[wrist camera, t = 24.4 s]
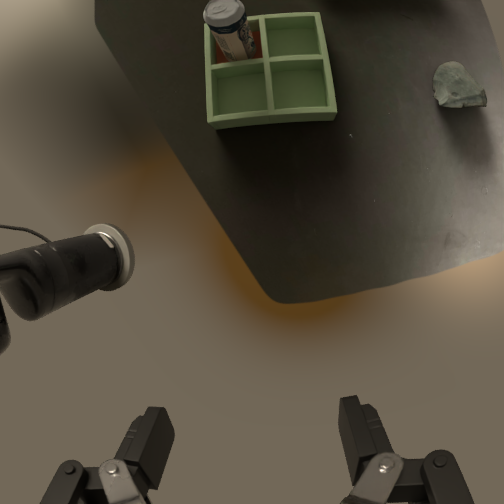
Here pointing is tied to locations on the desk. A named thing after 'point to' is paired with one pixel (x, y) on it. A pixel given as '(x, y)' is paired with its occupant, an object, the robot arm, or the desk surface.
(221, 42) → the beer can
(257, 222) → the desk surface
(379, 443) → the robot arm
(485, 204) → the desk surface
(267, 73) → the compartment tray
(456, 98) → the stone
